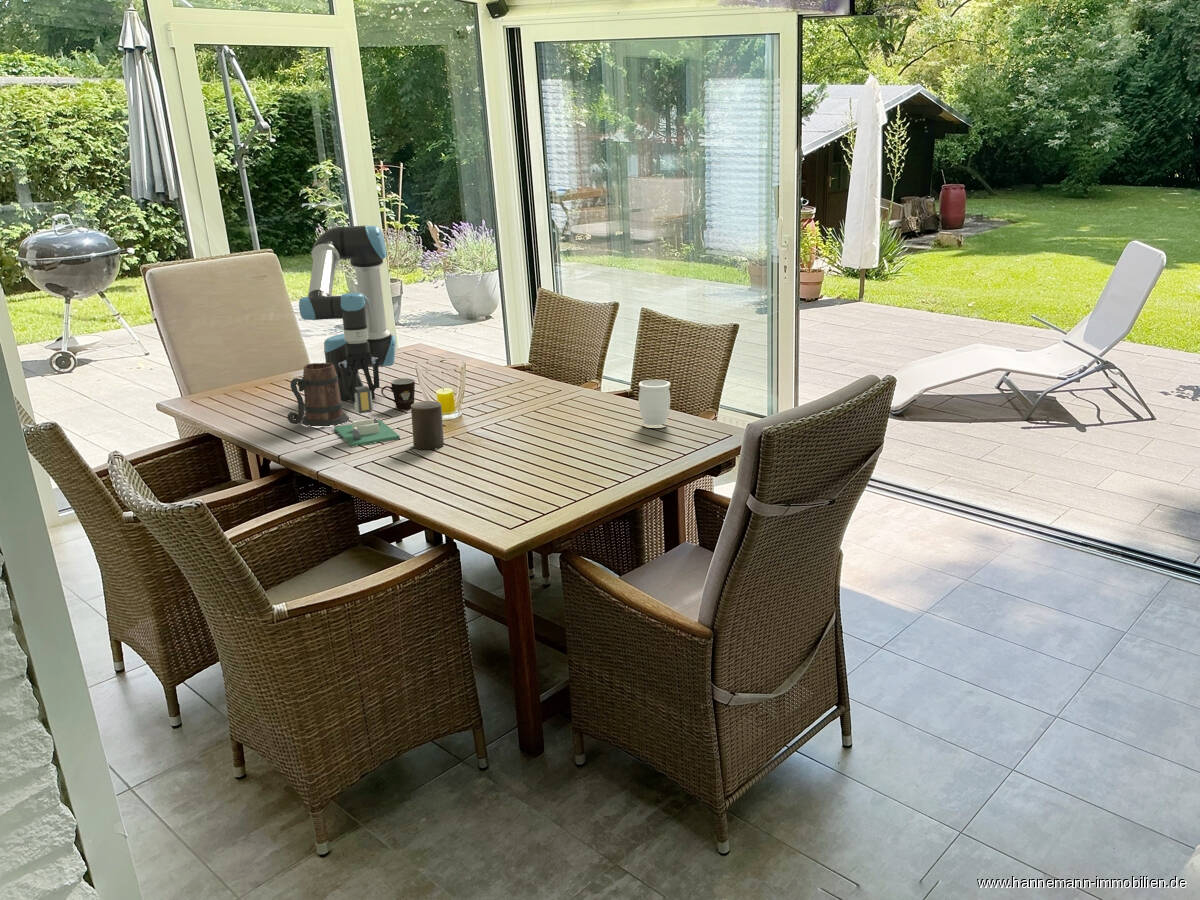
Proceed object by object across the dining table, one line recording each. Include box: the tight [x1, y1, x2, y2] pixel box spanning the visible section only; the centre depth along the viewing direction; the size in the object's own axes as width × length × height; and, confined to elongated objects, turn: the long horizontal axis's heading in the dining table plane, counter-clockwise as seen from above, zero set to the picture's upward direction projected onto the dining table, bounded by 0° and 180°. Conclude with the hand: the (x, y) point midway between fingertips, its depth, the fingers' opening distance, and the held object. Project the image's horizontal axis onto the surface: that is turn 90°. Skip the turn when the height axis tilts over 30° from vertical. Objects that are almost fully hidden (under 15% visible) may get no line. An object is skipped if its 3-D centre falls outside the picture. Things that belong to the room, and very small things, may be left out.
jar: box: [638, 379, 671, 425], centre depth 324 cm, size 11×10×15 cm
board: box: [333, 418, 401, 447], centre depth 324 cm, size 22×16×4 cm
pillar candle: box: [410, 400, 445, 451], centre depth 310 cm, size 10×10×15 cm
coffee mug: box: [381, 377, 416, 411], centre depth 353 cm, size 12×9×10 cm
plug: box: [355, 385, 373, 415], centre depth 321 cm, size 4×4×8 cm
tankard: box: [287, 362, 350, 426], centre depth 335 cm, size 24×17×20 cm
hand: (364, 410), depth 322 cm, fingers closed on plug, 4 cm apart
